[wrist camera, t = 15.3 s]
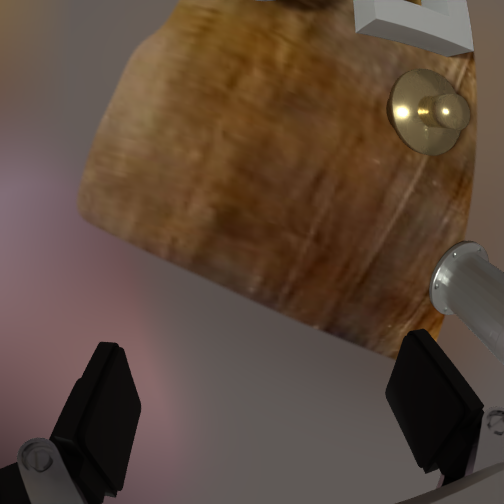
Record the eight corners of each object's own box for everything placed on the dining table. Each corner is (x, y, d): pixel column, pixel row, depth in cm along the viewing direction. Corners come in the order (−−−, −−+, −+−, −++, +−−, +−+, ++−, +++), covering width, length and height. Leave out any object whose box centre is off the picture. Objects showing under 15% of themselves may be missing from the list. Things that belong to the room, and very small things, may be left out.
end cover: (435, 154, 35) (487, 167, 25) (370, 146, 34) (416, 154, 25) (436, 83, 31) (488, 77, 21) (371, 68, 31) (416, 51, 21)
